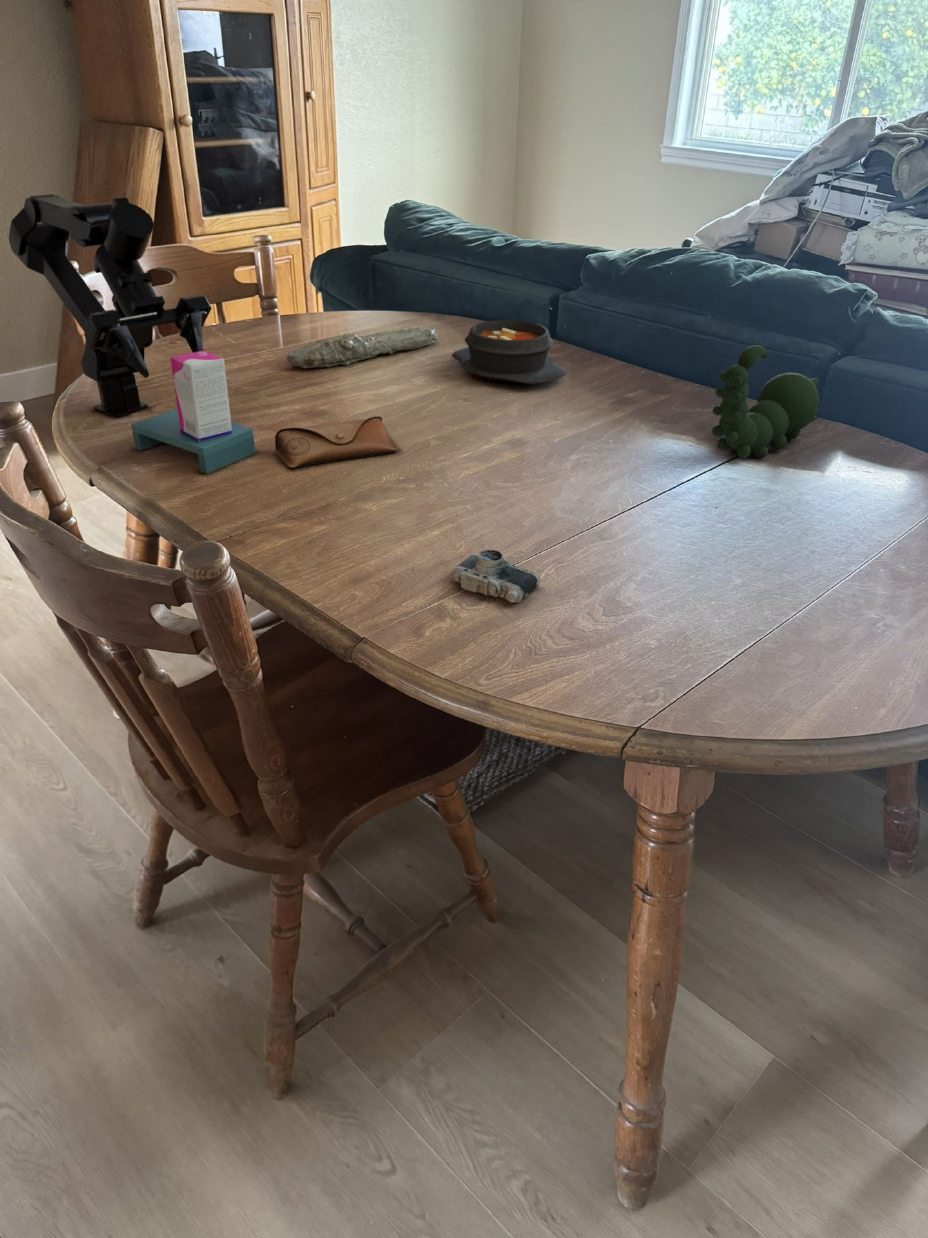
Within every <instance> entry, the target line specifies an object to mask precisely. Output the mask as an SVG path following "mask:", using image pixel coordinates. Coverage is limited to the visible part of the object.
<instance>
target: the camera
mask: <svg viewBox="0 0 928 1238" xmlns="http://www.w3.org/2000/svg"><path fill="white" fill-rule="evenodd" d="M451 575H452V580H453V581H454V582H457V583H459V584H460V588H461V589H462V590H464V591H467V592H468V591H469V592H472V593H480V594H483V595H485V596H492V597H494V598H501V599H504V600H506V601H508V602H509V603H517V604H519V603H522V601H524V600H525V599H526V598H528V597H529V595H530V594H532V593H533V592H535V590H537V589H538V588H539V586H540V583H541V579H540V577H539V576H538V575H537V574H536V573H535V572H533V571H529V570H528V569H524V568H521V567H518V566H516V565H515V564H513V563H510V562H508V561H507V560H506V559H505V557H504V555H503V553H502V551H498V550H495V549H483V550H480V551H479V552H478V553H477V554H471V555H469V556H468V557H467V558H465V559H464V560H463V561H462V562H460V563H459V564H457V565H456V566H455V567H453V569H452V571H451Z"/></svg>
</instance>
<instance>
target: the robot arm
mask: <svg viewBox="0 0 928 1238" xmlns="http://www.w3.org/2000/svg"><path fill="white" fill-rule="evenodd" d="M154 224H155V223H154V220H153V217H152V216H151V214H150V213H148V212H147V211H146V210H145V209H144V208H142V207H141V206H138V205H137V204H135V203H131V202H130V201H129V199H128V197H127V196H124V197H114V198H113V200H112V202H102V203H91V204H90V203H89V204H83V203H80V202H76V201H73V200H69V199H65V198H62V197H60V196H59V195H58V194H57V195H56V194H54V193H48V194H37V195H30V196H29V197H26V198H25V200H24V204H23V208H22V209H20V211H19V212H18V213H17V214H16V215H15V216H14V217H13V218H12V219H11V221H10V226H9V232H8V243H9V247H10V248H11V251H12V253H13V254H14V255H15V256H17V258H18V260H20V262H21V263H22V264H23V265H24V266H25V267H26V269H29V270H31V271H33V272H36V273H38V274H40V275H42V276H44V277H45V279H46V280H47V282H48V283H49V284H50V286H51V288H52V289H53V290H54V292H55V293H56V294H57V296H58V297H59V299H60V300H61V302H62V303H63V304H64V306H65V307H66V308H67V310H68V311H69V313H70V314H71V316H72V317H73V319H74V320H75V321H76V323H77V324H78V325H79V327H80V328H81V330H82V331H83V332H84V333H83V334H84V339H85V340H84V341H85V342H84V352H83V355H82V358H81V360H80V366H81V368H82V370H83V374H84V376H85V377H87V378H89V379H91V380H93V381H95V382H96V383H97V389H98V395H99V398H100V399H99V400H100V403H99V404H97V405H95V406H94V405H93V410H95V411H97V412H100V413H104V414H105V415H106V414H107V415H109V416H112V417H115V418H120V417H124V416H127V415H129V414H132V413H135V412H139V411H141V410H144V409H147V408H149V405H148V404H147V403H145V402H142V401H141V400H140V399H141V398H140V393H139V388H138V384H137V381H136V375H135V373H139V374H140V375H141V376H142V377H143V378H145V379H148V378H149V376H150V372H149V369H148V366H147V363H146V361H145V350H146V349H147V348H149V347H151V345H153V342H154V338H153V336H154V335H153V333H154V331H153V330H154V327H157V326H161V325H167V324H172V323H174V325H175V327H176V328H177V329H178V330H179V331H180V333H179V336H180V337H181V338H183V339H185V340H186V343H187V345H188V346H189V348H190V350H191V353H194V352H199V351H204V343H203V326H204V324H205V322H206V320H207V318H208V316H209V315H210V313H211V311H212V309H213V307H212V306H211V303H210V302H209V300H208V298H207V297H206V296H205V295H202V294H195V295H190V296H189V295H188V296H183V297H180V298H179V299H178V302H177V305H176V307H175V308H170V309H165V308H164V306H165V303H166V300H165V298H164V297H163V295H159V296H158V295H157V293H156V291H155V289H154V287H153V286H152V280H153V276H152V275H151V273H150V272H149V271H148V272H145V271H144V268H143V267H142V265H141V263H140V261H139V260H140V259H142V258H143V257H144V255H145V252H146V250H147V246H148V244H149V241H150V239H151V236H152V233H153V230H154ZM69 239H71V240H72V241H73V242H75V243H76V244H77V245H79V246H80V247H82V248H89V247H97V246H98V248H97V249H96V251H95V254H94V258H93V260H94V263H93V268H94V272H95V274H100V273H101V275H102V276H103V278H104V280H105V281H106V284H107V286H108V288H109V290H110V292H111V294H112V297H111V299H110V300H111V302H112V305H113V307H114V309H109V310H106V309H105V308H104V306H103V305H102V303H101V302H100V301H99V299H98V298H97V297H96V295H95V294H94V293H93V292H94V291H92V289H91V288H90V287H89V285H88V284H87V282H85V280H84V278H83V277H82V275H81V274H80V273H79V272H78V270H77V268H76V267H75V266H74V264H73V263H72V262H71V261H70V259H69V257H68V243H69Z"/></svg>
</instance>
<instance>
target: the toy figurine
mask: <svg viewBox="0 0 928 1238" xmlns="http://www.w3.org/2000/svg"><path fill="white" fill-rule="evenodd" d="M760 358H761V359H766V358H767V351H766V349H765V347H764V346H761V345H759V344H755V345H754V344H753V345H750V346H748V347H747V348H745V349H744V350H742V352H741V353H740V354H739V356H738V359H737V364H735V365H731V366H729V368H727V369H726V371H723V372H720V374H719V380H721V381H722V382H724V384H723V386H720V387H717V389H716V390H715V395H716V396H717V397H718V398H721V399H722V401H721V402H720V404H719V405H715V406H714V407H713V409H712V413H713V415H715V416H720V418H719V420H718V424H716V425H715V426H712V429H711V434H712V435H713V437H715V438H718V440H717V442H716V446H717V448H718V449H719V450H721V451H725V450H728V449H729V448H732V449H734V450H736V453H737V456H738V457H739V458H744V459H745V458H747V457H749V456H750V455H751V453H753V454H754V456H756V457H757V458H759V459H762V458H765V457H766V456H767V455H768V453H769V448H768V447H767V446H768V445H770V447H771V448H772V449H774V450H782V449H784V448H785V446H786V445H787V443H788V441H791V440H795V439H797V438H798V437H799V436H800V434H801V430H802V429H803V428H805V427H807V426H808V425H809V424H810V423H812V422H814V421H815V420H816V415H817V414H818V410H819V406H820V396H819V392H818V389H817V385H818V383H819V378H818V377H813V378H808V377H807V376H806V375H803V374H802V373H797V372H785V373H781V374H778V375H776V376H774V377H772V378H771V379H769V380H768V381H767V382H765V384H764V385H763V386H762V388H761V389H760V391H759V393H758V396H757V400H756V403H754V404H753V405H752V406H751V407H750V406H749V402H748V401H747V399H748V396H749V394H750V393H749V392H750V391H749V386H748V384H747V383H748V381H749V373H748V370H749V369H751V368H753V367H754V365H756V363H757V362H758V361H759V360H760Z"/></svg>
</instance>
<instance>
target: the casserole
mask: <svg viewBox="0 0 928 1238" xmlns="http://www.w3.org/2000/svg"><path fill="white" fill-rule="evenodd" d="M464 342H465V344H466V345H467V346H466V347H463V348H461V349H457V350H455V351H454V352H453V353H452V354H451V357H452V358H453V359H454V360H456V361H457V362H458V363H459V364H460V366H461V367H462V369H464V370H466V371H467V372H469V373H471V374H474V375H477V376H479V377H483V378H485V379H489V380H493V381H499V382H515V383H521V384H526V385H527V384H528V385H532V384H533V385H534V384H542V383H547V382H552V381H555V380H558V379H561V378H562V377H564V376H566V375H567V374H568V372H567V370H566V369H565V368H564V367H562V366H560V365H559V364H558V363H556V362H555V361H554V360H553V359H552V358H551V357H550V356H549V352H550V349H551V348H552V347H553V346H554V340H553V339H552V338H551V335H550V332H549V329H548V328H547V327H545V326H543V325H541V324H539V323H535V322H531V321H525V320H518V319H517V320H516V319H495V320H493V319H492V320H487V321H482V322H478V323H476V324H474V325H472V326H471V327H470V329H469V332H468V335H466V337H465V338H464Z"/></svg>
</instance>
